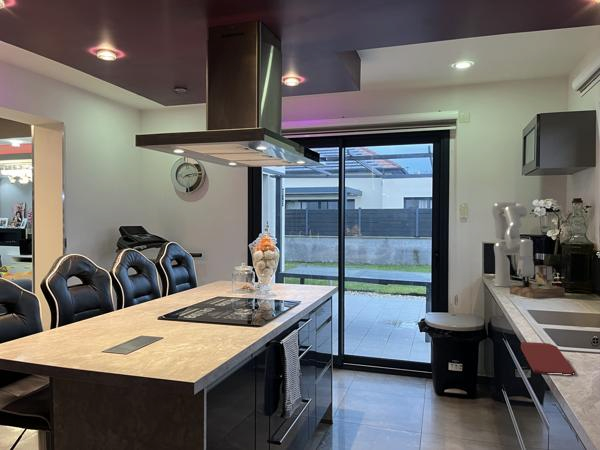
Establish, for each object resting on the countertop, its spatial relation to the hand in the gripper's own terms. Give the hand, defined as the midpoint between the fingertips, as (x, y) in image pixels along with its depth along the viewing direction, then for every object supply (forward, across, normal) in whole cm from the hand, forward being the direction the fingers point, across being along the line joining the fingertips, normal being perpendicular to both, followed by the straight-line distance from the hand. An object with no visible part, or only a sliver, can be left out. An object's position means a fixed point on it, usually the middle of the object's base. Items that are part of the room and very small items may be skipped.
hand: (526, 287), depth 293 cm
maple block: (+1, -5, 0) cm, 5 cm away
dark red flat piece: (+6, +98, +107) cm, 146 cm away
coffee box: (+5, -25, -9) cm, 27 cm away
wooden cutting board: (+5, -5, +4) cm, 8 cm away
